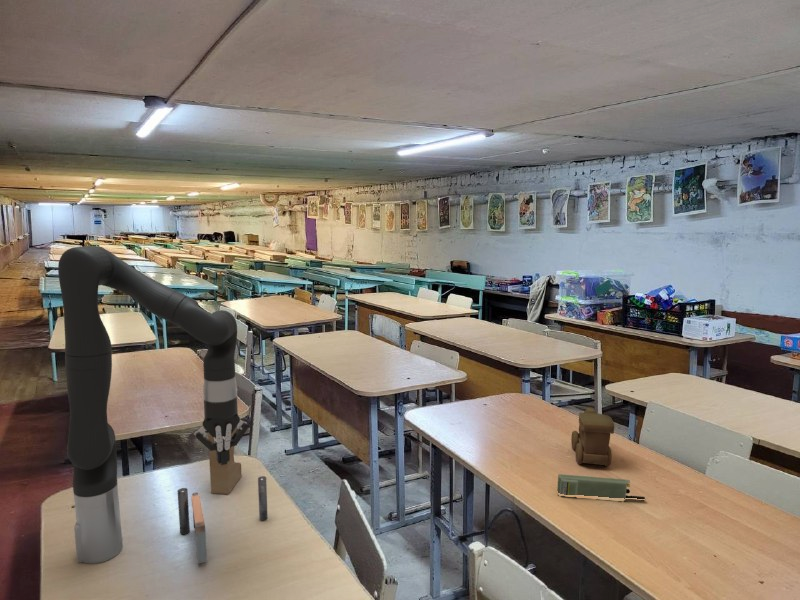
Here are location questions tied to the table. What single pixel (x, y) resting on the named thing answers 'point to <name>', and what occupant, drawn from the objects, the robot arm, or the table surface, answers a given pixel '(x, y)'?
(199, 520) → the gate
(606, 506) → the table surface
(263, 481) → the gate frame
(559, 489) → the handheld radio
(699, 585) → the table surface
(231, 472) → the decorative block
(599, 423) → the wooden toy train
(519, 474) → the table surface
